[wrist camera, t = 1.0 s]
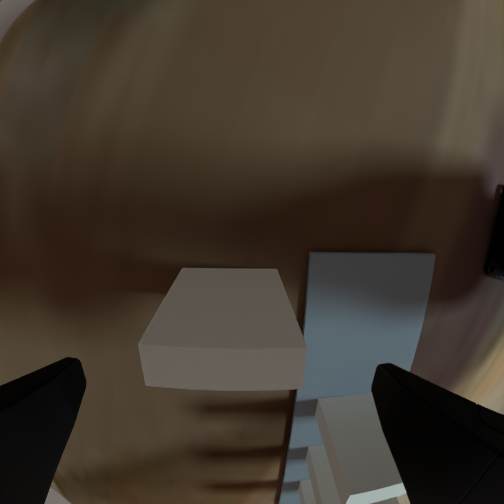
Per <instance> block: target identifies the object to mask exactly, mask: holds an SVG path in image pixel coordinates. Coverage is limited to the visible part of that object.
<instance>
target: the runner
mask: <svg viewBox="0 0 504 504" xmlns="http://www.w3.org/2000/svg"><path fill="white" fill-rule="evenodd" d="M435 259H436V254H434V253H377V252H309V262H308V276H307V289H306V301H305V313H304V324H303V334H302V335H303V338H304V340H305V343H306V346H307V353H306V361H305V369H304V377H303V384H302V389H296V395H295V403H294V410H293V418H292V425H291V432H290V438H289V445H288V451H287V457H286V464H285V469H284V475H283V481H282V487H281V492H280V498H279V503H278V504H301V502H300V497H299V491H298V488H299V484H300V481H302V480H311V479H310V475H309V471H308V466H307V462H306V455H307V451H308V447H309V446H318V445H324V444H323V440H322V437H321V434H320V430H319V427H318V424H317V420H316V417H315V413H316V408H317V403H318V399H320V398H331V397H340V396H349V395H357V394H365V393H372V392H371V386H372V382H373V378H374V374H375V370H376V367H377V366H378V365H379V364H383V363H392V364H394V365H396V366H398V367H400V368H402V369H404V370H407V371H409V372H410V369H411V365H412V362H413V359H414V355H415V352H416V348H417V344H418V341H419V337H420V333H421V329H422V325H423V321H424V317H425V312H426V308H427V303H428V298H429V293H430V288H431V283H432V277H433V271H434V265H435Z"/></svg>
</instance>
